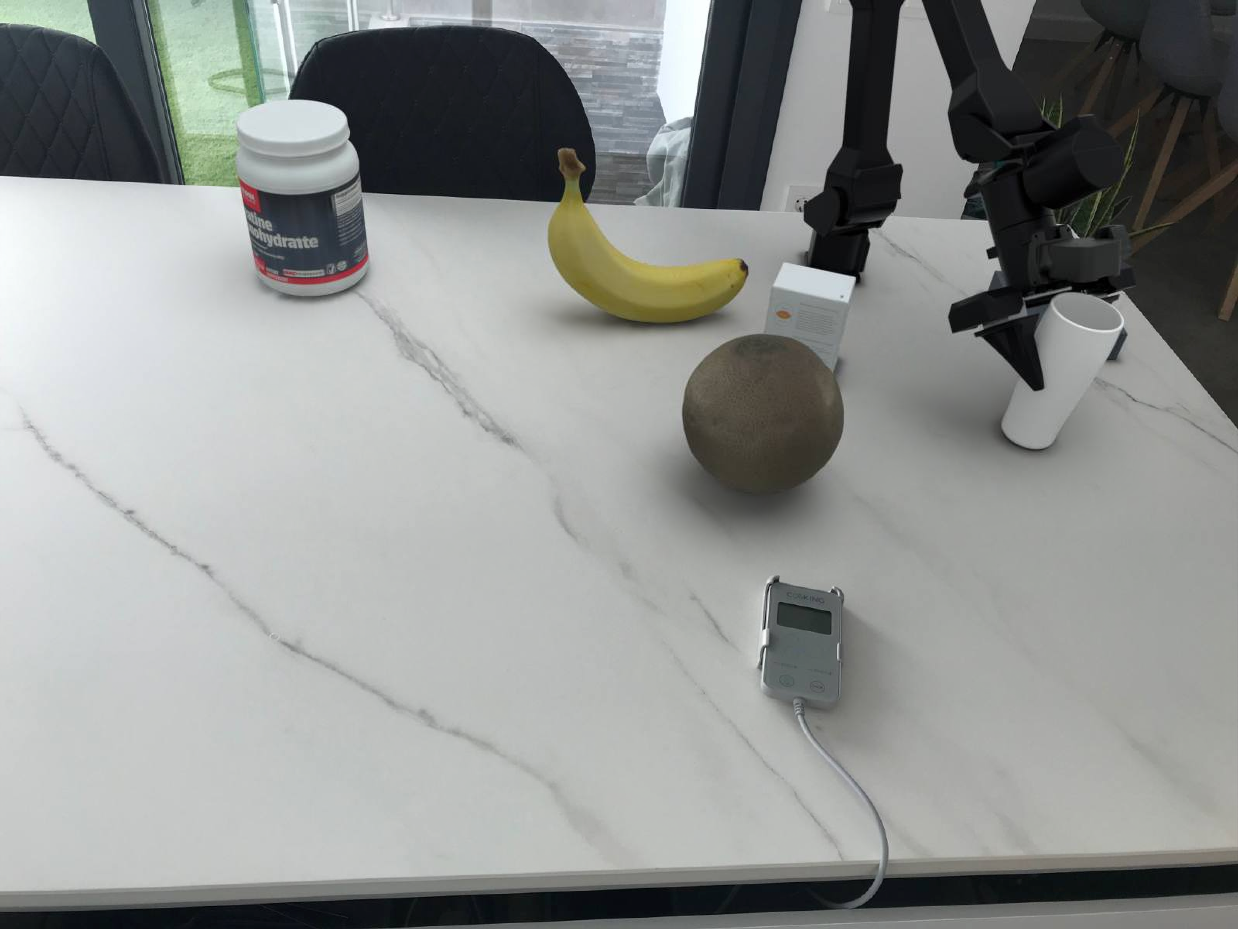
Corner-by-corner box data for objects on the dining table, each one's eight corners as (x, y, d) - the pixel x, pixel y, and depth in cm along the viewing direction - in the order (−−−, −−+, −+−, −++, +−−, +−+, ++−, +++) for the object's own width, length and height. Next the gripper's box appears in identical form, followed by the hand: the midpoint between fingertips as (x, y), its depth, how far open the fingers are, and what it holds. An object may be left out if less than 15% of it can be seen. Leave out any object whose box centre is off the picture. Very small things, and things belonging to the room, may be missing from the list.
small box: (837, 360, 108) (858, 276, 101) (828, 388, 104) (850, 302, 97) (766, 343, 110) (783, 259, 103) (755, 369, 106) (771, 284, 99)
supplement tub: (236, 291, 111) (202, 132, 99) (289, 239, 120) (264, 89, 108) (343, 310, 109) (321, 152, 97) (388, 256, 119) (373, 106, 107)
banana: (735, 302, 116) (762, 138, 103) (746, 329, 112) (775, 161, 98) (544, 304, 113) (547, 135, 100) (548, 332, 108) (551, 160, 95)
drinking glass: (1051, 418, 102) (1114, 296, 92) (1066, 461, 97) (1135, 337, 87) (986, 409, 102) (1043, 286, 92) (998, 451, 97) (1059, 326, 87)
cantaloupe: (697, 419, 98) (717, 289, 88) (836, 456, 95) (872, 326, 85) (654, 508, 88) (670, 372, 78) (808, 553, 85) (845, 417, 75)
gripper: (1009, 211, 83) (1057, 388, 83) (1163, 182, 90) (1207, 346, 90) (925, 251, 94) (968, 409, 93) (1069, 223, 100) (1109, 370, 100)
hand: (1065, 383), depth 94 cm, fingers closed on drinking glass, 6 cm apart
